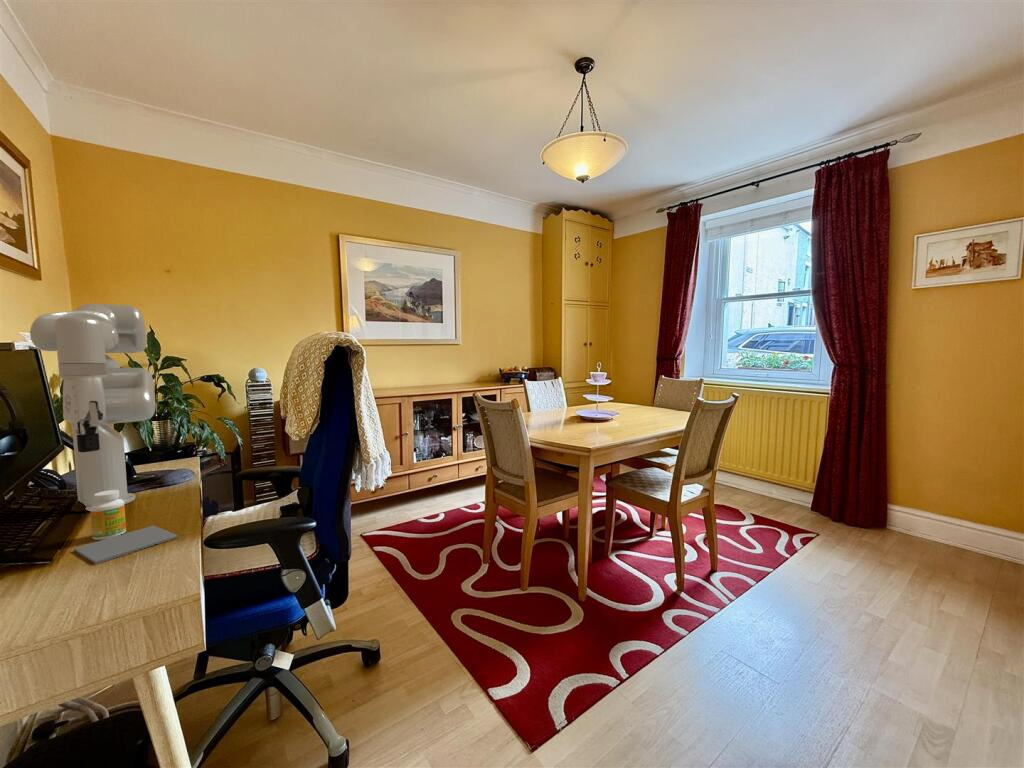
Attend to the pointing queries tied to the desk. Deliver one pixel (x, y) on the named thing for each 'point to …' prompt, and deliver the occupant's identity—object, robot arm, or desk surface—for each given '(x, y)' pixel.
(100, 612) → the desk surface
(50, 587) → the desk surface
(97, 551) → the rubber mat
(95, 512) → the supplement bottle
